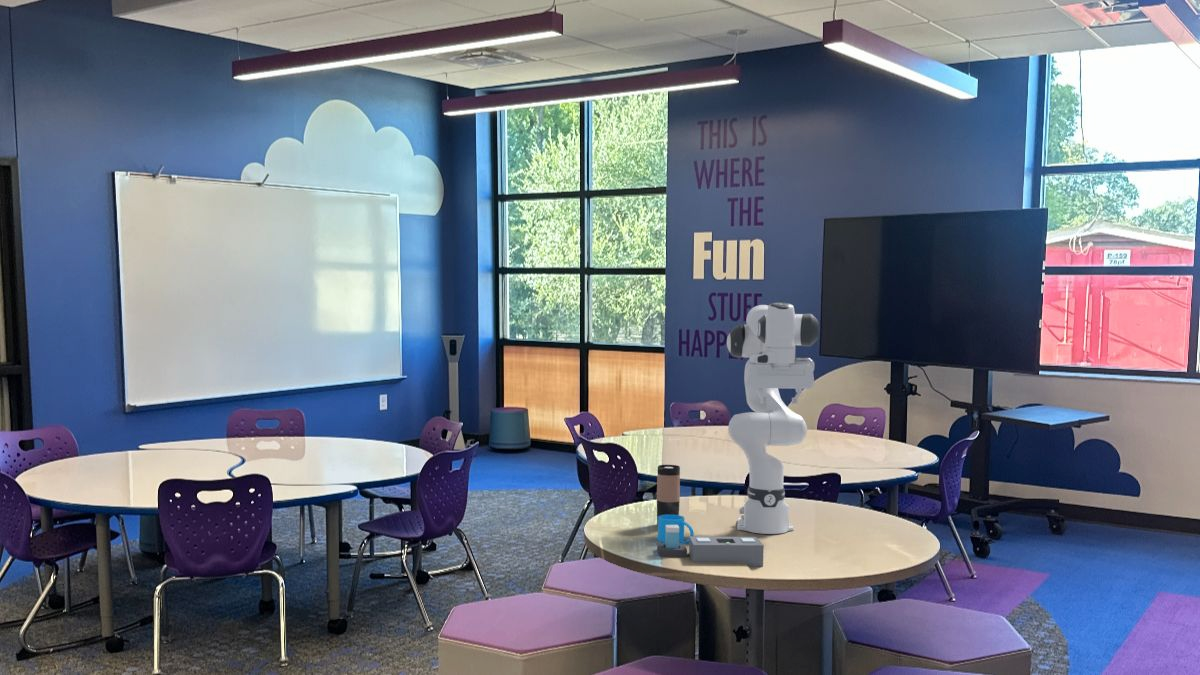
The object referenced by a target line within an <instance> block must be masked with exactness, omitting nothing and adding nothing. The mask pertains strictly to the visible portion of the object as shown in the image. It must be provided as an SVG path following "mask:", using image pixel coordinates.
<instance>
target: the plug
mask: <svg viewBox="0 0 1200 675" xmlns="http://www.w3.org/2000/svg"><path fill="white" fill-rule="evenodd" d="M665 548H679V526H678V525H666V532H665Z"/></svg>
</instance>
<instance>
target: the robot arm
mask: <svg viewBox="0 0 1200 675" xmlns="http://www.w3.org/2000/svg"><path fill="white" fill-rule="evenodd" d="M745 323H746V324H742V323H738V325H737V326H735V327H733V328H732V329H731V330H730V331H729V333H728V335H727V337H726V338H727V339H726V347H727V350H728V352H729V355H730V356H732V357H733V358H740V359H742V358H746V359H747V358H748V360H747V361H746V363H745V366H744V377H743V380H744V388H745V397H746V404H747V405H748V407H749V408H750V409H751V410H752V411H747V412H741V413H737V414H734V415H733V416H732V417H731V419H730V420H729V422H728V425H727V426H728V428H727V429H728V435H729V438H730V439H731V440H732V442H733V443H735V444H736V445H737V446H738V447H739V448H740V449H741V450H742V451H743V454H744V455H745V457H746V459H747V462H748V470H749V486H748V487H747V499H746V501H745V503H744V505H743V506H740V507H739V513H738V514H740V515H741V516H740V517H738V518H737V526H736V530H738V531H739V530H740V531H744V532H750V533H753V534H754V533H755V534H762V535H763V534H764V535H779V534H784V533H787V532H791V531H794V530H795V528H794V526H793V525H791V524H790V506H789V504H787V502H786V501H785V500H784V499H785V496H786V495H785V494H786V492H785V487H784V477H785V476H784V470H785V468H784V464H783V462H782V461H781V460H779V459H778V458H776V457H775V456H773V455H771V454H769V453H767V450H766V447H768V446H769V447H790V446H794V445H799V444H802V443H803V442H804V440H805V438H806V436H807V434H808V426H807V423H806V421H805V419H804V418H803V417H802V415H800V414H798V413H796V412H794V411H793V410H792V409H790V408H789V407H788V406H787V405H786V404H785V402H784V401H783V399H782V398H781V395H780V391H779V389H786V390H787V389H794V390H795V392H796V394H795V395H794V397H791V404H793V405H798V403H799V398H800V397H801V395H802V393H803V389H806V390H811V389H813V388H814V386H815V377H814V371H815V364H816V363H815V361H814V360H813V359H811V358H810V357H796V346H802V347H811V346H813V345H814V344H815V343H816V342H817V340H818V339H819V336H820V323H819V321H818V319H817V318H816V317H815V316H814V315H813V314H812V313H796V312H795V308H794V305H793V304H791V303H788V302H772V303H770V304H769V305H767V304H759V305H755V306H754V307H752V308H751V309H750V310H749V311H748V313H747V315H746V322H745Z"/></svg>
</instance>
